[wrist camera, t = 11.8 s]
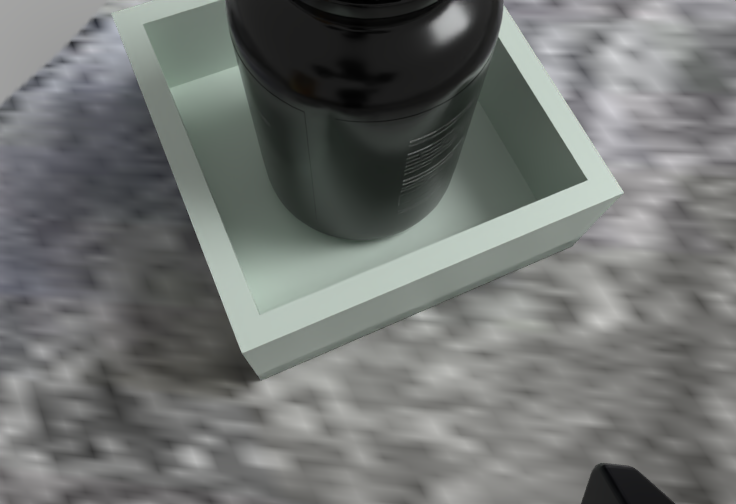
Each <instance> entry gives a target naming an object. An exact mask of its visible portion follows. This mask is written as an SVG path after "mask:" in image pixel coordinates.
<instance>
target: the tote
mask: <svg viewBox="0 0 736 504" xmlns="http://www.w3.org/2000/svg"><path fill="white" fill-rule="evenodd" d="M111 14H112V16H113V19H114V21H115V24H116V27H117V29H118V32H119V34H120V37H121V40H122V42H123V45H124V47H125V50H126V53H127V55H128V58H129V60H130V63H131V66H132V68H133V71H134V73H135V76H136V79H137V81H138V84H139V87H140V89H141V92H142V94H143V97H144V100H145V102H146V105H147V107H148V110H149V113H150V115H151V118H152V120H153V123H154V126H155V128H156V131H157V133H158V136H159V139H160V141H161V144H162V146H163V149H164V152H165V154H166V157H167V159H168V162H169V165H170V167H171V170H172V173H173V175H174V178H175V180H176V183H177V186H178V188H179V191H180V193H181V196H182V199H183V201H184V204H185V206H186V209H187V212H188V214H189V217H190V219H191V222H192V225H193V227H194V230H195V232H196V235H197V238H198V240H199V243H200V246H201V248H202V251H203V253H204V256H205V259H206V261H207V264H208V266H209V269H210V272H211V274H212V277H213V279H214V282H215V285H216V287H217V290H218V292H219V295H220V298H221V300H222V303H223V305H224V308H225V311H226V313H227V316H228V318H229V321H230V324H231V326H232V329H233V332H234V334H235V337H236V339H237V342H238V345H239V347H240V350H241V352H242V354H243V356H244V357H245V359H246V360H247V361H248V363H249V364H250V366H251V367H252V368H253V370H254V371H255V373H256V374H257V376H258V377H259V378H260V380H263V379H266V378H268V377H270V376H273V375H275V374H277V373H280V372H282V371H284V370H287V369H289V368H291V367H294V366H296V365H298V364H300V363H303V362H305V361H307V360H310V359H312V358H314V357H317V356H319V355H321V354H324V353H326V352H328V351H331V350H333V349H335V348H338V347H340V346H342V345H345V344H347V343H349V342H351V341H354V340H356V339H358V338H361V337H363V336H365V335H368V334H370V333H372V332H375V331H377V330H379V329H382V328H384V327H386V326H389V325H391V324H393V323H396V322H398V321H400V320H402V319H405V318H407V317H409V316H412V315H414V314H416V313H419V312H421V311H423V310H426V309H428V308H430V307H433V306H435V305H437V304H440V303H442V302H444V301H447V300H449V299H451V298H453V297H456V296H458V295H460V294H463V293H465V292H467V291H470V290H472V289H474V288H477V287H479V286H481V285H484V284H486V283H488V282H491V281H493V280H495V279H498V278H500V277H502V276H504V275H507V274H509V273H511V272H514V271H516V270H518V269H521V268H523V267H525V266H528V265H530V264H532V263H535V262H537V261H539V260H542V259H544V258H546V257H548V256H551V255H553V254H555V253H558V252H560V251H562V250H565V249H567V248H569V247H572V246H573V245H574V244H575V243H576V242H577V241H578V240H579V239H580V238H581V237H582V236H583V235H584V234H585V233H586V231H587V230H588V229H589V228H590V227H591V226H592V225H593V224H594V223H595V222H596V221H597V220H598V219H599V218H600V217H601V216H602V215H603V214H604V213H605V212H606V211H607V210H608V209H609V208H610V207H611V206H612V205H613V204H614V203H615V201H616V200H617V199H618V198H619V197H620V196H621V195H622V194H623V193H624V192H623V191H622V189H621V187H620V186H619V184H618V183H617V181H616V180H615V178H614V176H613V175H612V173H611V172H610V170H609V169H608V167H607V166H606V164H605V162H604V161H603V159H602V158H601V156H600V155H599V153H598V151H597V150H596V148H595V147H594V145H593V144H592V142H591V141H590V139H589V137H588V136H587V134H586V133H585V131H584V130H583V128H582V126H581V125H580V123H579V122H578V120H577V119H576V117H575V116H574V114H573V112H572V111H571V109H570V108H569V106H568V105H567V103H566V102H565V100H564V98H563V97H562V95H561V94H560V92H559V91H558V89H557V87H556V86H555V84H554V83H553V81H552V80H551V78H550V77H549V75H548V73H547V72H546V70H545V69H544V67H543V66H542V64H541V62H540V61H539V59H538V58H537V56H536V55H535V53H534V52H533V50H532V48H531V47H530V45H529V44H528V42H527V41H526V39H525V37H524V36H523V34H522V33H521V31H520V30H519V28H518V27H517V25H516V23H515V22H514V20H513V19H512V17H511V16H510V14H509V12H508V11H507V9H506V8H505V6H504V5H503V16H502V22H501V27H500V31H499V35H498V39H497V43H496V46H495V49H494V52H493V56H492V59H491V62H490V65H489V68H488V71H487V74H486V77H485V80H484V83H483V86H482V89H481V92H480V95H479V98H478V101H477V104H476V107H475V110H474V114H473V117H472V120H471V123H470V126H469V129H468V132H467V135H466V138H465V141H464V144H463V147H462V150H461V153H460V156H459V159H458V162H457V165H456V168H455V171H454V173H453V176H452V179H451V181H450V184H449V186H448V188H447V190H446V192H445V194H444V196H443V197H442V199H441V200H440V202H439V203H438V205H437V206H436V207H435V208H434V209H433V210H432V211H431V212H430V213H429V214H428V215H427V216H426V217H425V218H424V219H422V220H421V221H420V222H418V223H417V224H415V225H414V226H412V227H410V228H409V229H407V230H405V231H403V232H400V233H398V234H395V235H392V236H389V237H385V238H380V239H374V240H347V239H341V238H336V237H333V236H329V235H326V234H324V233H321V232H319V231H317V230H314V229H312V228H311V227H309V226H307V225H306V224H304V223H303V222H301V221H300V220H299V219H297V218H296V217H295V216H294V215H293V214H292V213H291V212H289V211H288V209H287V208H286V207H285V206H284V205H283V204H282V202H281V201H280V199H279V198H278V196H277V195H276V193H275V191H274V189H273V187H272V185H271V183H270V180H269V178H268V174H267V171H266V168H265V165H264V161H263V158H262V154H261V150H260V147H259V143H258V139H257V135H256V131H255V128H254V124H253V120H252V116H251V113H250V109H249V105H248V101H247V97H246V94H245V90H244V86H243V82H242V78H241V75H240V71H239V67H238V63H237V59H236V56H235V52H234V48H233V44H232V40H231V36H230V32H229V27H228V21H227V16H226V9H225V0H153V1H150V2H147V3H143V4H140V5H137V6H134V7H130V8H127V9H124V10H120V11H117V12H114V13H111Z"/></svg>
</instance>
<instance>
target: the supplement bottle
mask: <svg viewBox="0 0 736 504" xmlns="http://www.w3.org/2000/svg"><path fill="white" fill-rule="evenodd" d="M225 9H226V16H227V21H228V27H229V32H230V36H231V40H232V44H233V48H234V52H235V56H236V59H237V63H238V67H239V71H240V75H241V78H242V82H243V86H244V90H245V94H246V97H247V101H248V105H249V109H250V113H251V116H252V120H253V124H254V128H255V131H256V135H257V139H258V143H259V147H260V150H261V154H262V158H263V161H264V165H265V168H266V171H267V174H268V178H269V180H270V183H271V185H272V187H273V189H274V191H275V193H276V195H277V196H278V198H279V199H280V201H281V202H282V204H283V205H284V206H285V207H286V208H287V209H288V211H289V212H291V213H292V214H293V215H294V216H295V217H296V218H297V219H299V220H300V221H301V222H303V223H304V224H306V225H307V226H309V227H311V228H312V229H314V230H317V231H319V232H321V233H324V234H326V235H329V236H333V237H336V238H341V239H347V240H374V239H380V238H385V237H389V236H392V235H395V234H398V233H400V232H403V231H405V230H407V229H409V228H410V227H412V226H414V225H415V224H417V223H418V222H420V221H421V220H422V219H424V218H425V217H426V216H427V215H428V214H429V213H430V212H431V211H432V210H433V209H434V208H435V207H436V206H437V205H438V203H439V202H440V200H441V199H442V197H443V196H444V194H445V192H446V190H447V188H448V186H449V184H450V181H451V179H452V176H453V173H454V171H455V168H456V165H457V162H458V159H459V156H460V153H461V150H462V147H463V144H464V141H465V138H466V135H467V132H468V129H469V126H470V123H471V120H472V117H473V114H474V110H475V107H476V104H477V101H478V98H479V95H480V92H481V89H482V86H483V83H484V80H485V77H486V74H487V71H488V68H489V65H490V62H491V59H492V56H493V52H494V49H495V46H496V43H497V39H498V35H499V31H500V27H501V22H502V16H503V0H225Z"/></svg>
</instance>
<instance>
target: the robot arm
mask: <svg viewBox="0 0 736 504" xmlns="http://www.w3.org/2000/svg"><path fill="white" fill-rule="evenodd" d="M581 504H675V503H674V502H673V501H672V500H671V499H670V498H668V497H667V496H666V495H665V494H664V493H663V492H662V491H661V490H659V489H658V488H657V487H656V486H655V485H654V484H653V483H651V482H650V481H649V480H648V479H647V478H646V477H645V476H644V475H642V474H641V473H640V472H639V471H638V470H636V469H635V468H633V467H631V466H626V465H617V464H608V463H600V464H598V465H596V466H595V467H594V468H593V470H592V472H591V475H590V478H589V481H588V484H587V487H586V490H585V494H584V497H583V500H582V503H581Z"/></svg>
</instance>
